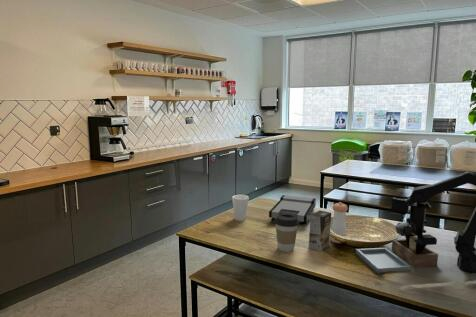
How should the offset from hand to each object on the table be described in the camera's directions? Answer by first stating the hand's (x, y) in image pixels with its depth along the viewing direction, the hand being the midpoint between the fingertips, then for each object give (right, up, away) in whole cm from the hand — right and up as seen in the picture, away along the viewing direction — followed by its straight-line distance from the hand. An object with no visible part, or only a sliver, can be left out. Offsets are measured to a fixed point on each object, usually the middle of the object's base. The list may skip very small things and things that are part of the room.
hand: (413, 252), depth 146 cm
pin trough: (0, -3, +1) cm, 4 cm away
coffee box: (-37, -1, +13) cm, 40 cm away
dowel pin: (0, -2, 0) cm, 2 cm away
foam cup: (-74, +5, +50) cm, 89 cm away
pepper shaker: (-26, 0, +21) cm, 34 cm away
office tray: (-42, +5, +55) cm, 70 cm away
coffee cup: (-53, -1, +11) cm, 54 cm away
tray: (-15, -4, -3) cm, 15 cm away
